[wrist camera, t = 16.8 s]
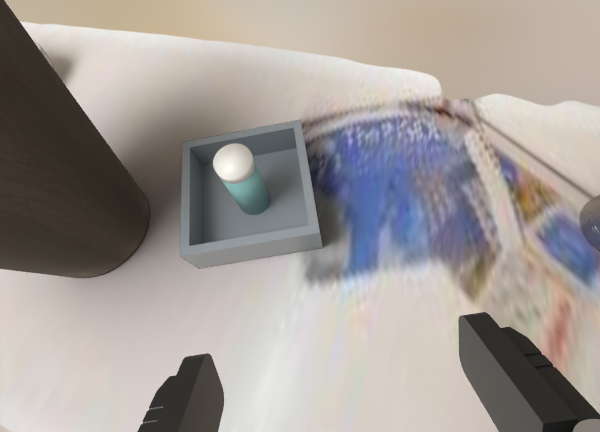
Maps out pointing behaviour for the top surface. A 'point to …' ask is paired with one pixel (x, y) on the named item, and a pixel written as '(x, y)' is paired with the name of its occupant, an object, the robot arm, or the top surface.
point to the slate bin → (226, 212)
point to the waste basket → (57, 173)
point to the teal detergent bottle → (242, 178)
